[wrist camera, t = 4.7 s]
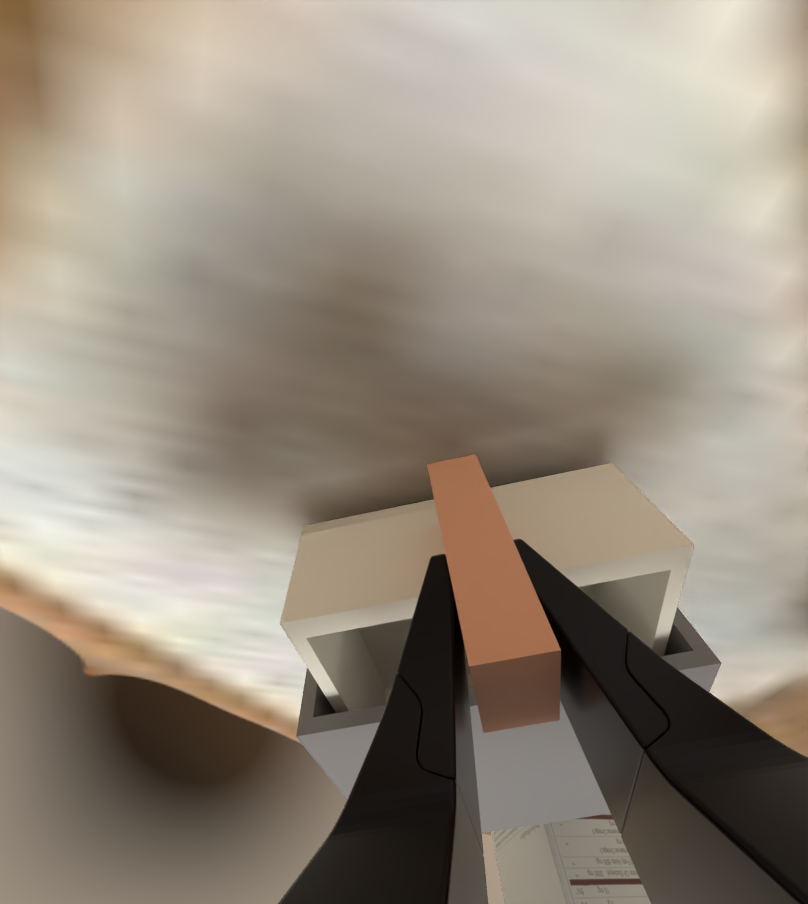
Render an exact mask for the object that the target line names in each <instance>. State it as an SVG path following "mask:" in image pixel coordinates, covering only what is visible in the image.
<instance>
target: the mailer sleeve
mask: <svg viewBox="0 0 808 904" xmlns="http://www.w3.org/2000/svg"><path fill="white" fill-rule="evenodd" d="M661 657H662V658H663V659H664V660H666V661H667V662H668V663H670V664H671V665H672V666H674V667H675V668H676V669H678V670H679V671H680V672H682V673H683V674H684V675H686V676H687V677H689V678H690V679H691V680H693V681H694V682H695V683H697V684H698V685H700V686H701V687H702V688H704V689H705V690H707V691H708V692H709V691H710V689H711V686H712V684H713V682H714V679H715V677H716V675H717V672H718V670H719V668H720V665H721V662H720V661H719V659H718V658H717V657H716V656H715V654H714V653H713V652H712V651H711V649H710V648H709V647H708V645H707V644H706V643H705V642H704V640H703V639H702V638H701V637H700V635H699V634H698V633H697V632H696V630H695V629H694V628H693V626H692V625H691V624H690V623H689V621H688V620H687V619H686V618H685V616H684V615H683V614H682V613H681V611H680V610H679V609H678V607H677V610H676V613H675V617H674V620H673V624H672V628H671V631H670V635H669V639H668V642H667V646H666V650H665V653H664V656H661ZM468 691H469V702H470V713H471V724H472V734H473V745H474V756H475V767H476V778H477V789H478V800H479V811H480V821H481V832H482V833H486V832H492V831H499V830H505V829H512V828H518V827H525V826H531V825H538V824H544V823H551V822H557V821H564V820H570V819H577V818H583V817H590V816H596V815H603V814H609V813H610V810H609V808H608V806H607V804H606V801H605V799H604V797H603V795H602V793H601V790H600V788H599V786H598V784H597V781H596V779H595V777H594V775H593V772H592V770H591V768H590V766H589V763H588V761H587V759H586V757H585V755H584V752H583V750H582V748H581V746H580V743H579V741H578V739H577V737H576V734H575V732H574V730H573V728H572V725H571V723H570V721H569V719H568V717H567V714H566V712H565V710H564V708H563V705H562V703H561V701H560V720H558V721H552V722H547V723H541V724H535V725H529V726H523V727H517V728H511V729H505V730H499V731H493V732H487V733H483V728H482V724H481V719H480V714H479V710H478V705H477V701H476V696H475V691H474V689H472V690H468ZM385 706H386V705H381V706H375V707H369V708H364V709H358V710H352V711H346V712H341V713H336V712H335V710H334V709H333V707H332V706H331V704H330V703H329V701H328V699H327V698H326V696H325V695H324V693H323V691H322V690H321V688H320V687H319V685H318V684H317V682H316V680H315V679H314V677H313V676H312V674H311V672H310V671H309V669H308V668H307V672H306V679H305V685H304V691H303V697H302V704H301V710H300V716H299V723H298V729H297V735H296V737H297V738H298V739H299V741H300V742H301V743H302V744H303V745H304V747H305V748H306V749H307V751H308V752H309V753H310V754H311V755H312V757H313V758H314V759H315V760H316V762H317V763H318V764H319V765H320V767H321V768H322V769H323V770H324V772H325V773H326V774H327V775H328V777H329V778H330V779H331V780H332V782H333V783H334V784H335V785H336V786H337V788H338V789H339V790H340V792H341V793H342V794H343V795H344V797H345V798H346V799H348V797H349V795H350V792H351V790H352V788H353V785H354V783H355V781H356V778H357V776H358V773H359V771H360V769H361V766H362V764H363V762H364V759H365V757H366V754H367V752H368V750H369V747H370V745H371V743H372V740H373V738H374V735H375V733H376V730H377V728H378V725H379V723H380V720H381V718H382V715H383V712H384V709H385Z"/></svg>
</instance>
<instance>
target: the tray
mask: <svg viewBox="0 0 808 904" xmlns="http://www.w3.org/2000/svg"><path fill="white" fill-rule="evenodd" d="M427 468H428V472H429V477H430V482H431V487H432V492H433V496H434V499H433V500H428V501H423V502H418V503H413V504H408V505H404V506H399V507H394V508H389V509H384V510H379V511H374V512H369V513H364V514H360V515H355V516H350V517H345V518H340V519H335V520H330V521H325V522H320V523H316V524H311V525H306V526H304V527H303V531H302V535H301V539H300V543H299V548H298V552H297V556H296V560H295V564H294V568H293V572H292V576H291V580H290V584H289V588H288V592H287V596H286V600H285V604H284V608H283V613H282V617H281V621H280V625H281V627H282V628H283V630H284V631H285V633H286V634H287V636H288V638H289V639H290V641H291V642H292V644H293V646H294V647H295V649H296V650H297V652H298V653H299V655H300V657H301V658H302V660H303V661H304V663H305V665H306V666H307V668H308V669H309V671H310V672H311V674H312V676H313V677H314V679H315V680H316V682H317V684H318V685H319V687H320V688H321V690H322V691H323V693H324V695H325V696H326V698H327V699H328V701H329V703H330V704H331V706H332V707H333V709H334V710H335V712H336V713H341V712H346V711H352V710H358V709H364V708H369V707H375V706H381V705H386V703H387V700H388V697H389V694H390V691H391V688H392V685H393V681H394V678H395V675H396V674H398V673H397V668H398V665H399V662H400V658H401V655H402V652H403V648H404V645H405V641H406V638H407V635H408V631H409V628H410V625H411V621H412V618H413V614H414V611H415V608H416V604H417V601H418V598H419V594H420V591H421V587H422V584H423V581H424V577H425V574H426V571H427V567H428V564H429V560H430V558H431V557H432V556H434V555H439V554H445V555H446V558H447V563H448V568H449V573H450V577H451V582H452V587H453V592H454V597H455V601H456V606H457V611H458V616H459V620H460V625H461V630H462V635H463V640H464V648H465V658H466V669H467V680H468V690H472V689H474V691H475V696H476V701H477V705H478V710H479V714H480V719H481V724H482V728H483V733H487V732H493V731H499V730H505V729H511V728H517V727H523V726H529V725H535V724H541V723H547V722H552V721H558V720H560V677H561V649H560V647H559V644H558V642H557V640H556V637H555V635H554V633H553V631H552V628H551V626H550V624H549V621H548V619H547V617H546V614H545V612H544V610H543V608H542V605H541V603H540V601H539V598H538V596H537V594H536V591H535V589H534V587H533V585H532V582H531V580H530V578H529V575H528V573H527V571H526V568H525V566H524V564H523V562H522V559H521V557H520V555H519V552H518V550H517V548H516V545H515V543H514V541H513V540H514V539H522V540H523V541H524V542H526V543H527V544H528V545H529V546H530V547H532V548H533V549H534V550H535V551H536V552H537V553H539V554H540V555H541V556H542V557H543V558H544V559H546V560H547V561H548V562H549V563H550V564H552V565H553V566H554V567H555V568H556V569H557V570H559V571H560V572H561V573H562V574H563V575H565V576H566V577H567V578H568V579H569V580H570V581H572V582H573V583H574V584H575V585H576V586H577V587H579V588H580V589H581V590H582V591H583V592H585V593H586V594H587V595H588V596H589V597H590V598H592V599H593V600H594V601H595V602H596V603H598V604H599V605H600V606H601V607H602V608H603V609H605V610H606V611H607V612H608V613H609V614H610V615H612V616H613V617H614V618H615V619H616V620H618V621H619V622H620V623H621V624H622V625H623V626H625V627H626V628H627V629H628V632H629V631H630V632H632V633H633V634H634V635H635V636H637V637H638V638H639V639H640V640H641V641H642V642H644V643H645V644H646V645H647V646H648V647H650V648H651V649H652V650H653V651H655V652H656V653H657V654H658V655H660V656H664V653H665V650H666V646H667V642H668V639H669V635H670V631H671V628H672V624H673V620H674V617H675V613H676V610H677V606H678V602H679V599H680V595H681V591H682V588H683V584H684V580H685V577H686V573H687V569H688V566H689V562H690V558H691V555H692V551H693V547H694V544H693V543H692V542H691V541H690V540H689V539H688V538H687V537H686V536H685V535H684V534H683V533H682V532H681V531H680V530H679V529H678V528H677V527H676V526H675V525H674V524H673V523H672V522H671V521H670V520H669V519H668V518H667V517H666V516H665V515H664V514H663V513H662V512H661V511H660V510H659V509H658V508H657V507H656V506H655V505H654V504H653V503H652V502H651V501H650V500H649V499H648V498H647V497H646V496H645V495H644V494H643V493H642V492H641V491H640V490H639V489H638V488H637V487H636V486H635V485H634V484H633V483H632V482H631V481H630V480H629V479H628V478H627V477H626V476H625V475H624V474H623V473H622V472H621V471H620V470H619V469H618V468H617V467H616V466H615V465H614V464H613V463H609V464H604V465H599V466H594V467H589V468H584V469H579V470H575V471H570V472H565V473H560V474H555V475H550V476H545V477H540V478H536V479H531V480H526V481H521V482H516V483H511V484H506V485H501V486H496V487H492V488H490V486H489V483H488V481H487V479H486V476H485V474H484V472H483V470H482V467H481V465H480V463H479V460H478V458H477V456H476V454H474V455H469V456H464V457H459V458H454V459H450V460H445V461H440V462H435V463H431V464H427Z"/></svg>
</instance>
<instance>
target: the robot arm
mask: <svg viewBox="0 0 808 904" xmlns="http://www.w3.org/2000/svg"><path fill="white" fill-rule="evenodd" d="M513 541H514V543H515V545H516V548H517V550H518V552H519V555H520V557H521V559H522V562H523V564H524V566H525V568H526V571H527V573H528V575H529V578H530V580H531V582H532V585H533V587H534V589H535V591H536V594H537V596H538V598H539V601H540V603H541V605H542V608H543V610H544V612H545V614H546V617H547V619H548V621H549V624H550V626H551V628H552V631H553V633H554V635H555V637H556V640H557V642H558V644H559V647H560V649H561V677H560V701H561V703H562V705H563V708H564V710H565V712H566V714H567V717H568V719H569V721H570V723H571V725H572V728H573V730H574V732H575V734H576V737H577V739H578V741H579V743H580V746H581V748H582V750H583V752H584V755H585V757H586V759H587V761H588V763H589V766H590V768H591V770H592V772H593V775H594V777H595V779H596V781H597V784H598V786H599V788H600V790H601V793H602V795H603V797H604V799H605V801H606V804H607V806H608V808H609V810H610V813H611V815H612V817H613V819H614V822H615V824H616V826H617V828H618V831H619V833H620V834H621V837H622V840H623V842H624V844H625V846H626V849H627V851H628V853H629V855H630V858H631V860H632V862H633V864H634V867H635V869H636V871H637V873H638V876H639V878H640V880H641V882H642V884H643V887H644V889H645V891H646V893H647V896H648V898H649V900H650V902H651V904H808V757H806V756H804V755H802V754H800V753H798V752H796V751H795V750H793V749H791V748H789V747H787V746H786V745H784V744H783V743H781V742H779V741H778V740H776V739H774V738H773V737H772V736H770V735H769V734H767V733H766V732H764V731H763V730H761V729H760V728H758V727H757V726H756V725H754V724H753V723H751V722H750V721H749V720H747V719H746V718H744V717H743V716H742V715H740V714H739V713H737V712H736V711H735V710H733V709H732V708H730V707H729V706H728V705H726V704H725V703H723V702H722V701H721V700H719V699H718V698H716V697H715V696H714V695H712V694H711V693H709V692H708V691H707V690H705V689H704V688H702V687H701V686H700V685H698V684H697V683H695V682H694V681H693V680H691V679H690V678H689V677H687V676H686V675H684V674H683V673H682V672H680V671H679V670H678V669H676V668H675V667H674V666H672V665H671V664H670V663H668V662H667V661H666V660H664V659H663V658H662V657H661V656H660V655H658V654H657V653H656V652H655V651H653V650H652V649H651V648H650V647H648V646H647V645H646V644H645V643H644V642H642V641H641V640H640V639H639V638H638V637H637V636H635V635H634V634H633V633H632V632H630V631H629V632H628V629H627V628H626V627H625V626H623V625H622V624H621V623H620V622H619V621H618V620H616V619H615V618H614V617H613V616H612V615H610V614H609V613H608V612H607V611H606V610H605V609H603V608H602V607H601V606H600V605H599V604H598V603H596V602H595V601H594V600H593V599H592V598H590V597H589V596H588V595H587V594H586V593H585V592H583V591H582V590H581V589H580V588H579V587H577V586H576V585H575V584H574V583H573V582H572V581H570V580H569V579H568V578H567V577H566V576H565V575H563V574H562V573H561V572H560V571H559V570H557V569H556V568H555V567H554V566H553V565H552V564H550V563H549V562H548V561H547V560H546V559H544V558H543V557H542V556H541V555H540V554H539V553H537V552H536V551H535V550H534V549H533V548H532V547H530V546H529V545H528V544H527V543H526V542H524V541H523V540H522V539H514V540H513ZM397 673H398V674H396V675H395V678H394V681H393V685H392V688H391V691H390V694H389V697H388V700H387V703H386V706H385V709H384V712H383V715H382V718H381V720H380V723H379V725H378V728H377V730H376V733H375V735H374V738H373V740H372V743H371V745H370V747H369V750H368V752H367V754H366V757H365V759H364V762H363V764H362V766H361V769H360V771H359V773H358V776H357V778H356V781H355V783H354V785H353V788H352V790H351V792H350V795H349V797H348V799H347V802H346V804H345V806H344V808H343V810H342V812H341V814H340V816H339V818H338V820H337V822H336V824H335V826H334V827H333V829H332V831H331V832H330V834H329V835H328V837H327V838H326V840H325V841H324V843H323V844H322V845H321V847H320V848H319V849H318V851H317V852H316V854H315V855H314V856H313V857H312V859H311V860H310V862H309V863H308V864H307V866H306V867H305V868H304V870H303V871H302V872H301V874H300V875H299V876H298V878H297V879H296V880H295V882H294V883H293V884H292V886H291V887H290V888H289V890H288V891H287V893H286V894H285V895H284V896H283V898H282V899H281V901H280V902H279V903H278V904H488V897H487V886H486V876H485V865H484V857H483V843H482V832H481V821H480V811H479V800H478V789H477V778H476V767H475V756H474V745H473V734H472V724H471V713H470V702H469V691H468V680H467V669H466V658H465V648H464V640H463V635H462V630H461V625H460V620H459V616H458V611H457V606H456V601H455V597H454V592H453V587H452V582H451V577H450V573H449V568H448V563H447V558H446V555H445V554H439V555H434V556H432V557H431V558H430V560H429V564H428V567H427V571H426V574H425V577H424V581H423V584H422V587H421V591H420V594H419V598H418V601H417V604H416V608H415V611H414V614H413V618H412V621H411V625H410V628H409V631H408V635H407V638H406V641H405V645H404V648H403V652H402V655H401V658H400V662H399V665H398V668H397Z"/></svg>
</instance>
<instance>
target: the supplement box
mask: <svg viewBox="0 0 808 904" xmlns="http://www.w3.org/2000/svg"><path fill="white" fill-rule="evenodd" d="M491 835H492V840H493V845H494V850H495V855H496V861H497V865H498V871H499V876H500V882H501V887H502V892H503V897H504V902H505V904H651V902H650V900H649V898H648V896H647V893H646V891H645V889H644V887H643V884H642V882H641V880H640V878H639V876H638V873H637V871H636V869H635V867H634V864H633V862H632V860H631V858H630V855H629V853H628V851H627V849H626V846H625V844H624V842H623V840H622V837H621V834H620V833H619V831H618V828H617V826H616V824H615V822H614V819H613V817H612V815H611V813H609V814H603V815H596V816H590V817H583V818H577V819H570V820H564V821H557V822H551V823H544V824H538V825H531V826H525V827H518V828H512V829H505V830H499V831H492V832H491Z"/></svg>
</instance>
